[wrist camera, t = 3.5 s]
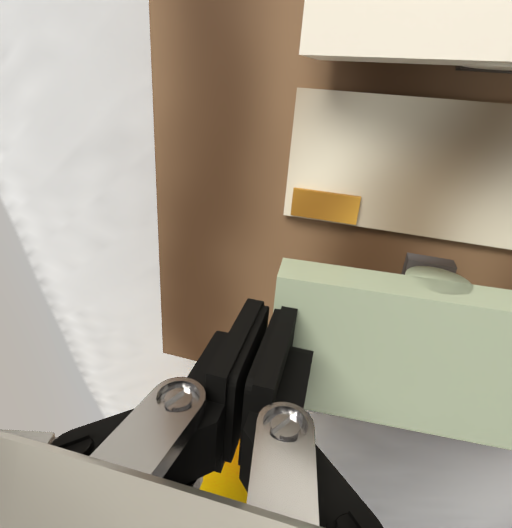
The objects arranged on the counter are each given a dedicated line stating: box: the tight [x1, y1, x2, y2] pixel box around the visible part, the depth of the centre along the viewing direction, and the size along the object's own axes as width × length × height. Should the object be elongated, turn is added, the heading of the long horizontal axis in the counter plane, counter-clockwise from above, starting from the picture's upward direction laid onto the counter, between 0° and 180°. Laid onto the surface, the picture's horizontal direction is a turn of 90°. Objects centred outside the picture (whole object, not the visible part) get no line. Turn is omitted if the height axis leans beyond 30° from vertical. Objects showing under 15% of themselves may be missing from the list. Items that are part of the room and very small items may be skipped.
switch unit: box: [149, 0, 512, 361], centre depth 15 cm, size 18×20×5 cm
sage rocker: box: [273, 258, 512, 450], centre depth 13 cm, size 10×5×2 cm, turn 85°
